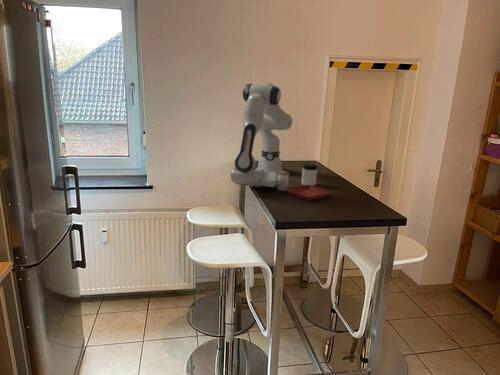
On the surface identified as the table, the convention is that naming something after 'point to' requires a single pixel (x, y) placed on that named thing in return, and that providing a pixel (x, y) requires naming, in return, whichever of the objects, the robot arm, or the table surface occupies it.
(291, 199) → the table surface
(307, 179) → the jar
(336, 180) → the table surface
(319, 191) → the plant saucer
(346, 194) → the table surface
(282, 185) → the canister
